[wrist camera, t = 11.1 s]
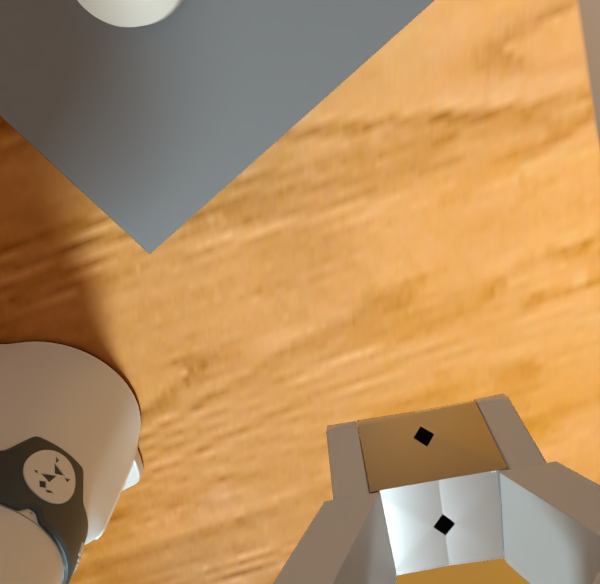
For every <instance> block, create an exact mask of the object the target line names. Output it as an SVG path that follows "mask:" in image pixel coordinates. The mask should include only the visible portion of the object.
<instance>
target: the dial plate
mask: <svg viewBox="0 0 600 584" xmlns="http://www.w3.org/2000/svg"><path fill="white" fill-rule="evenodd" d="M433 1H434V0H183V2H182V4H181V5H180V6H179V8H178V9H177V10H176V11H175V12H174V13H173V14H172V15H171V16H169V17H168V18H167V19H165V20H163V21H161V22H158V23H155V24H151V25H145V26H139V27H119V26H115V25H111V24H109V23H106V22H104V21H102V20H100V19H98V18H96V17H95V16H93V15H92V14H91V13H89V12H88V11H87V10H86V9H85V8H84V7H83V6H82V5H81V4H80V3H79V2H78V1H77V0H0V116H1V117H2V118H3V119H4V120H5V121H6V122H7V123H8V124H9V125H10V126H12V127H13V128H14V129H15V130H16V131H17V132H18V133H19V134H20V135H21V136H22V137H23V138H25V139H26V140H27V141H28V142H29V143H30V144H31V145H32V146H33V147H34V148H35V149H36V150H38V151H39V152H40V153H41V154H42V155H43V156H44V157H45V158H46V159H47V160H48V161H49V162H51V163H52V164H53V165H54V166H55V167H56V168H57V169H58V170H59V171H60V172H61V173H62V174H64V175H65V176H66V177H67V178H68V179H69V180H70V181H71V182H72V183H73V184H74V185H75V186H76V187H78V188H79V189H80V190H81V191H82V192H83V193H84V194H85V195H86V196H87V197H88V198H89V199H91V200H92V201H93V202H94V203H95V204H96V205H97V206H98V207H99V208H100V209H101V210H102V211H104V212H105V213H106V214H107V215H108V216H109V217H110V218H111V219H112V220H113V221H114V222H115V223H117V224H118V225H119V226H120V227H121V228H122V229H123V230H124V231H125V232H126V233H127V234H128V235H130V236H131V237H132V238H133V239H134V240H135V241H136V242H137V243H138V244H139V245H140V246H141V247H142V248H144V249H145V250H146V251H147V252H148V253H149V254H151V253H152V252H153V251H154V250H155V249H156V248H157V247H158V246H160V245H161V244H162V243H163V242H164V241H165V240H166V239H167V238H169V237H170V236H171V235H172V234H173V233H174V232H175V231H176V230H178V229H179V228H180V227H181V226H182V225H183V224H184V223H185V222H186V221H188V220H189V219H190V218H191V217H192V216H193V215H194V214H195V213H197V212H198V211H199V210H200V209H201V208H202V207H203V206H204V205H206V204H207V203H208V202H209V201H210V200H211V199H212V198H213V197H215V196H216V195H217V194H218V193H219V192H220V191H221V190H222V189H223V188H225V187H226V186H227V185H228V184H229V183H230V182H231V181H232V180H234V179H235V178H236V177H237V176H238V175H239V174H240V173H241V172H243V171H244V170H245V169H246V168H247V167H248V166H249V165H250V164H251V163H253V162H254V161H255V160H256V159H257V158H258V157H259V156H260V155H262V154H263V153H264V152H265V151H266V150H267V149H268V148H269V147H271V146H272V145H273V144H274V143H275V142H276V141H277V140H278V139H279V138H281V137H282V136H283V135H284V134H285V133H286V132H287V131H288V130H290V129H291V128H292V127H293V126H294V125H295V124H296V123H297V122H299V121H300V120H301V119H302V118H303V117H304V116H305V115H306V114H308V113H309V112H310V111H311V110H312V109H313V108H314V107H315V106H316V105H318V104H319V103H320V102H321V101H322V100H323V99H324V98H325V97H327V96H328V95H329V94H330V93H331V92H332V91H333V90H334V89H336V88H337V87H338V86H339V85H340V84H341V83H342V82H343V81H344V80H346V79H347V78H348V77H349V76H350V75H351V74H352V73H353V72H355V71H356V70H357V69H358V68H359V67H360V66H361V65H362V64H364V63H365V62H366V61H367V60H368V59H369V58H370V57H371V56H372V55H374V54H375V53H376V52H377V51H378V50H379V49H380V48H381V47H383V46H384V45H385V44H386V43H387V42H388V41H389V40H390V39H392V38H393V37H394V36H395V35H396V34H397V33H398V32H399V31H401V30H402V29H403V28H404V27H405V26H406V25H407V24H408V23H409V22H411V21H412V20H413V19H414V18H415V17H416V16H417V15H418V14H420V13H421V12H422V11H423V10H424V9H425V8H426V7H427V6H429V5H430V4H431V3H432V2H433Z"/></svg>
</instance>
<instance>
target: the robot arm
mask: <svg viewBox="0 0 600 584" xmlns="http://www.w3.org/2000/svg"><path fill="white" fill-rule="evenodd" d="M357 424H358V427H357ZM140 428H141V417H140V411H139V407H138V404H137V401H136V399H135V397H134V395H133V393H132V391H131V390H130V388H129V387H128V385H127V384H126V383H125V381H124V380H123V379H122V378H121V377H120V376H119V375H118V374H117V373H116V372H115V371H114V370H113V369H112V368H110V367H109V366H108V365H106V364H105V363H104V362H102V361H101V360H99V359H97V358H96V357H94V356H92V355H90V354H88V353H86V352H83V351H81V350H78V349H76V348H73V347H69V346H66V345H62V344H57V343H50V342H21V343H13V344H0V584H68V583H69V581H70V579H71V577H72V575H73V573H74V572H75V571H76V569H77V566H78V564H79V561H80V559H81V556H82V552H83V546H84V545H86V544H88V543H89V542H91V541H92V540H94V539H99V538H100V537H101V535H102V534H103V533H104V531H105V529H106V526H107V524H108V522H109V520H110V517H111V515H112V513H113V510H114V508H115V506H116V503H117V501H118V499H119V496H120V494H121V492H122V490H124V489H127V488H129V487H131V486H133V485H135V484H136V483H137V482H138V481H139V480H140V477H141V475H142V473H143V464H142V460H141V457H140V454H139V452H138V439H139V434H140ZM358 430H359V431H358ZM326 434H327V443H328V453H329V462H330V472H331V481H332V491H333V500H330V501H325V502H324V503H323V505H322V506H321V508H320V510H319V511H318V513H317V514H316V516H315V518H314V519H313V521H312V522H311V524H310V525H309V527H308V529H307V530H306V532H305V533H304V535H303V537H302V538H301V540H300V541H299V543H298V545H297V546H296V548H295V549H294V551H293V552H292V554H291V556H290V557H289V559H288V560H287V562H286V564H285V565H284V567H283V568H282V570H281V572H280V573H279V575H278V576H277V578H276V579H275V581H274V583H273V584H395V583H396V580H397V577H396V575H402V574H407V573H412V572H417V571H422V570H427V569H433V568H438V567H443V566H448V565H456V564H463V563H471V562H478V561H485V560H493V559H500V558H505V561H506V562H507V563H508V564H509V565H510V566H511V567H512V568H514V569H515V570H516V571H517V572H518V573H519V574H520V575H521V576H523V577H524V578H525V579H526V580H527V581H528V582H529V583H530V584H600V485H598V484H597V483H595V482H593V481H591V480H589V479H587V478H586V477H584V476H582V475H580V474H578V473H577V472H575V471H573V470H571V469H569V468H567V467H566V466H564V465H562V464H560V463H558V462H550V463H546V461H545V459H544V457H543V456H542V454H541V452H540V451H539V449H538V447H537V445H536V444H535V442H534V440H533V439H532V437H531V435H530V434H529V432H528V430H527V428H526V427H525V425H524V423H523V422H522V420H521V418H520V416H519V415H518V413H517V411H516V410H515V408H514V406H513V404H512V403H511V401H510V399H509V398H508V396H506V395H504V394H499V395H494V396H489V397H485V398H480V399H475V400H473V401H468V402H462V403H457V404H452V405H446V406H441V407H436V408H431V409H425V410H420V411H414V412H408V413H401V414H395V415H389V416H382V417H376V418H370V419H363V420H357V422H355V421H354V422H348V423H341V424H335V425H329V426H327V431H326ZM359 435H360V436H359Z"/></svg>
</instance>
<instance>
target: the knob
mask: <svg viewBox="0 0 600 584" xmlns="http://www.w3.org/2000/svg"><path fill="white" fill-rule="evenodd" d="M77 1H78V2H79V3H80V4H81V5H82V6H83V7H84V8H85V9H86V10H87V11H88V12H89V13H91V14H92V15H93V16H95V17H96V18H98V19H100V20H102V21H104V22H106V23H109V24H111V25H115V26H119V27H139V26H145V25H151V24H155V23H158V22H161V21H163V20H165V19H167V18H168V17H169V16H171V15H172V14H173V13H174V12H175V11H176V10H177V9H178V8H179V6H180V5H181V4H182V2H183V0H77Z"/></svg>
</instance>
